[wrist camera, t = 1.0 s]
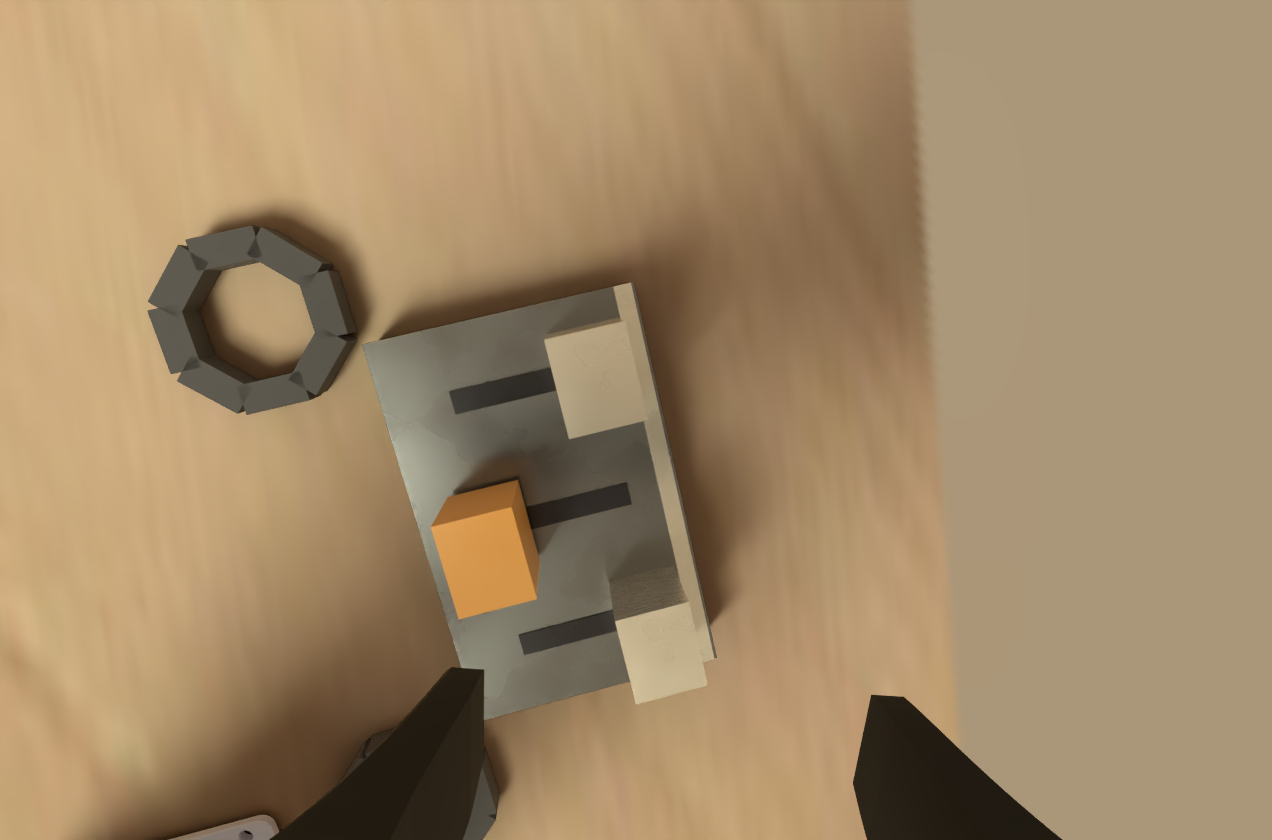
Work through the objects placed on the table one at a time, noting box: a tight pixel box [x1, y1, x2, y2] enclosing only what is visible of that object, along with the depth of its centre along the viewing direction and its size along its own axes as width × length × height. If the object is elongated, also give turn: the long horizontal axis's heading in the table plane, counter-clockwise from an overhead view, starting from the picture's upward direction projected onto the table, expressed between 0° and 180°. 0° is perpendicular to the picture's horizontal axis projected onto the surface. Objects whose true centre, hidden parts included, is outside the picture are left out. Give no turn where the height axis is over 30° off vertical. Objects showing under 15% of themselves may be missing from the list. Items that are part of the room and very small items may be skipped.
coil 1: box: [148, 225, 357, 415], centre depth 23 cm, size 6×6×1 cm
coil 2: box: [341, 729, 499, 840], centre depth 27 cm, size 6×6×1 cm
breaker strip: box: [362, 282, 717, 720], centre depth 23 cm, size 9×14×5 cm, turn 13°
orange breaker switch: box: [431, 480, 540, 619], centre depth 22 cm, size 2×3×3 cm
